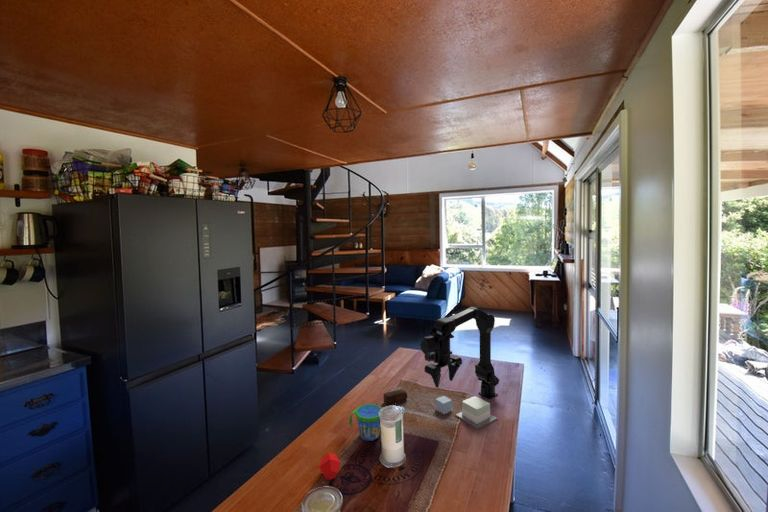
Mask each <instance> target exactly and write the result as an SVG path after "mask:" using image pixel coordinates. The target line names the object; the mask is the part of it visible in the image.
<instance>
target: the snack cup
mask: <svg viewBox="0 0 768 512" xmlns="http://www.w3.org/2000/svg"><path fill="white" fill-rule="evenodd" d="M381 408H382V407H381V406H380V405H378V404H374V403H366V404H362V405H360V406H358V407H357V408H356V409H354V410H353V411H351V414H350V416H349V426H350V427H352V426H353V425H354V424H353V423H354V422H353V418H352V417H353V415H355V417H356V420H357V426H358V427H357V428H358V433H359V437H360V438H361V439H362V440H363V441H367V442H368V441H372V442H373V441H374V440H376V439H378V438H379V437H380V434H381V433H380V432H381V427H380V419H379V414H378V412H379V410H380V409H381ZM374 442H375V441H374Z"/></svg>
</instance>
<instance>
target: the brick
mask: <svg viewBox="0 0 768 512" xmlns="http://www.w3.org/2000/svg"><path fill="white" fill-rule="evenodd" d="M407 398H408V393H407V391H406V390H405V389H403V388H400V389H396V390H393V391H392V390H391V391H388V392H385V393H383V403H384V404H385V405H386V406H387V405H390V406H392V404H394V405H396V404H395V403H397V404H400V403H404V402H406V401H407ZM399 402H400V403H399Z"/></svg>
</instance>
